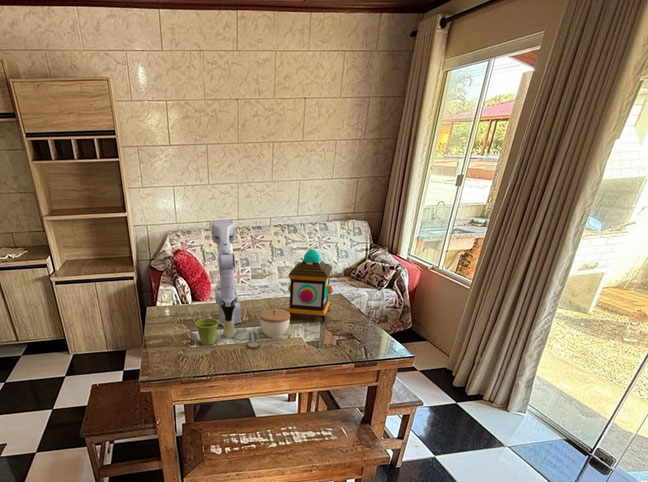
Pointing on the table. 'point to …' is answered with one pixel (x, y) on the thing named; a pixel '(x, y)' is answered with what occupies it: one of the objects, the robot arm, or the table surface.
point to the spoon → (253, 342)
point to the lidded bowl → (274, 322)
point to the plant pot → (207, 330)
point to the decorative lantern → (310, 287)
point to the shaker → (229, 327)
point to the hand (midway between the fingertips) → (228, 317)
